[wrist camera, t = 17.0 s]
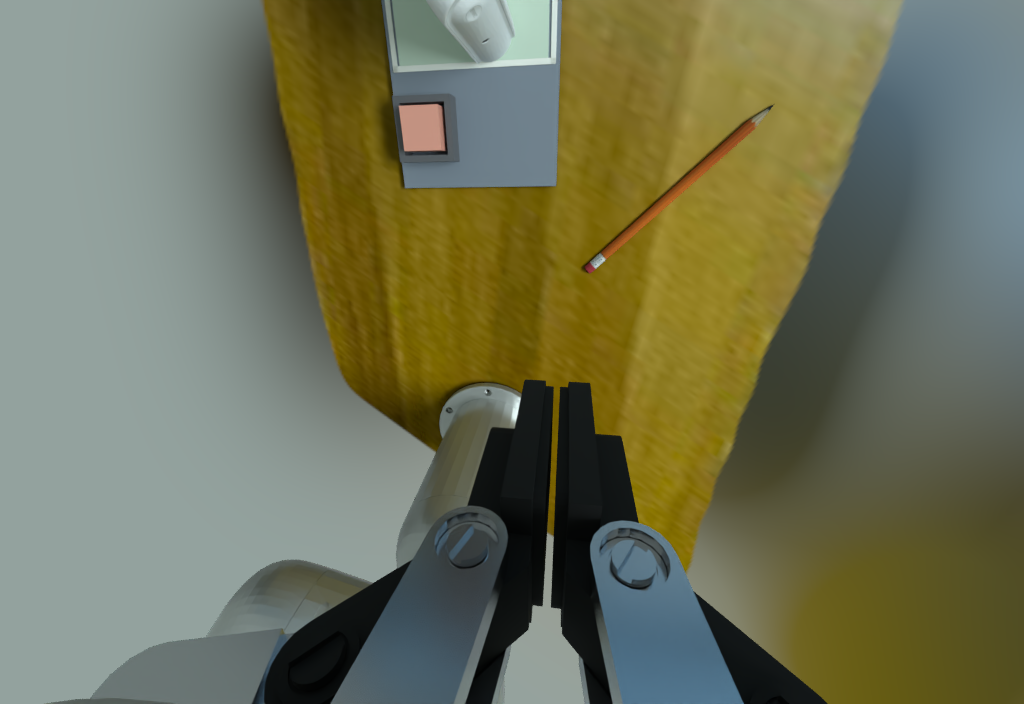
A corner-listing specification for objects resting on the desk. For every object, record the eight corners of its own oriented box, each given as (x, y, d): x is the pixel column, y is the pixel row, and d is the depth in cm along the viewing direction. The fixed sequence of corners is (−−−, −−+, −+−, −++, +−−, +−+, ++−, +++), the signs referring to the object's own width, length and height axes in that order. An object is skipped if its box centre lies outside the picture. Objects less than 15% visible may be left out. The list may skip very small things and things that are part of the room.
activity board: (556, 185, 34) (555, 186, 32) (407, 187, 36) (397, 188, 34) (566, -139, 25) (566, -168, 23) (370, -115, 27) (352, -140, 25)
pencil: (584, 266, 37) (584, 268, 36) (768, 100, 30) (774, 98, 29) (589, 272, 37) (590, 274, 36) (774, 109, 30) (780, 107, 29)
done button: (448, 151, 33) (441, 150, 31) (413, 152, 33) (404, 151, 32) (445, 108, 32) (437, 104, 30) (409, 109, 32) (398, 105, 30)
